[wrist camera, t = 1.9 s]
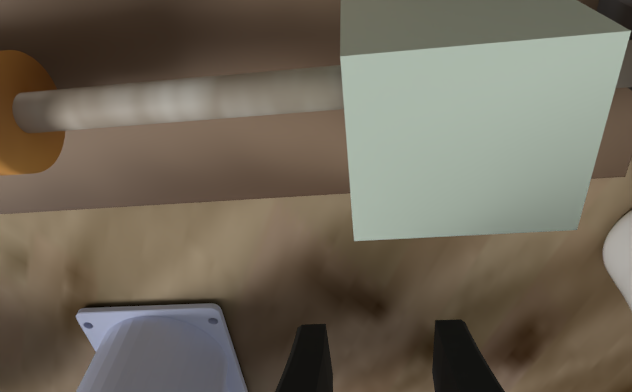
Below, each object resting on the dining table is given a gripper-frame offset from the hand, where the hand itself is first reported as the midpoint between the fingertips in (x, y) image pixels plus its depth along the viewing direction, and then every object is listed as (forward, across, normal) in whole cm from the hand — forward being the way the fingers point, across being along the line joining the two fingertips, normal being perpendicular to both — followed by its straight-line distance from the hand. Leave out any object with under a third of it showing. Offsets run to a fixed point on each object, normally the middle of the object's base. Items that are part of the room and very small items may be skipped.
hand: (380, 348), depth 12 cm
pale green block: (+7, -2, -5) cm, 9 cm away
